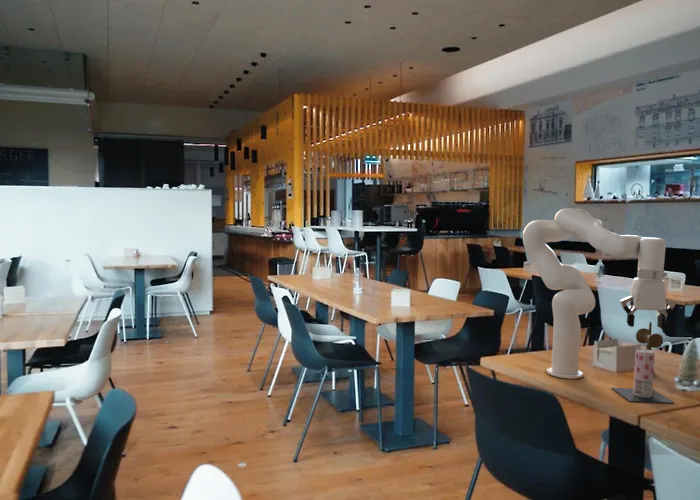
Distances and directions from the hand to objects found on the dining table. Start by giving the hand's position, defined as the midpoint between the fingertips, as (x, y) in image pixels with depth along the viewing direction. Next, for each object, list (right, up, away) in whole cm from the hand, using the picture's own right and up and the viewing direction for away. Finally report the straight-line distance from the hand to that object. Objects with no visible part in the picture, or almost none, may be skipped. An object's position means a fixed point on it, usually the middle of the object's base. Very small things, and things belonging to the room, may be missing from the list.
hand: (645, 326), depth 195 cm
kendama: (+16, -22, +30) cm, 40 cm away
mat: (-1, -23, +2) cm, 23 cm away
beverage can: (-1, -23, +1) cm, 23 cm away
